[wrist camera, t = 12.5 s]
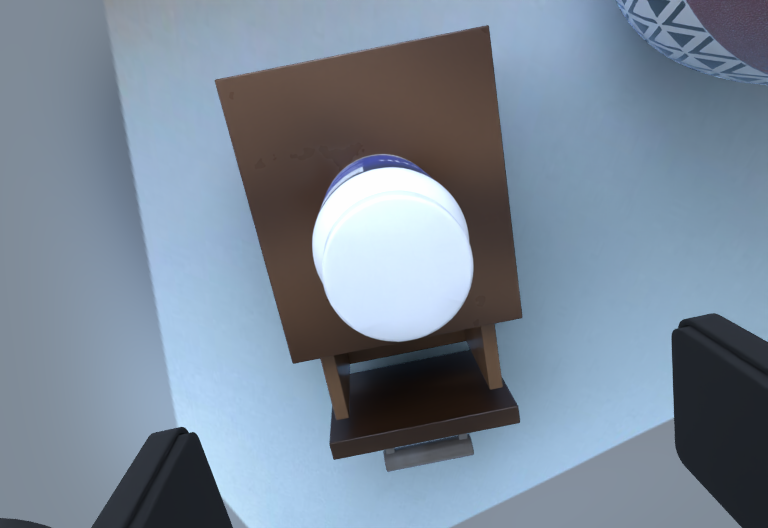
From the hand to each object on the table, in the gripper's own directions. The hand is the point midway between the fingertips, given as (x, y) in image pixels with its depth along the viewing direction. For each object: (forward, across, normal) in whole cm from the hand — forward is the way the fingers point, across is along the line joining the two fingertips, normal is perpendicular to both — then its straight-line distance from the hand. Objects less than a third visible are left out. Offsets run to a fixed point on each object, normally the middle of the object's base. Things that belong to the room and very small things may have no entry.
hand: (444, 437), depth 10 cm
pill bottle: (+16, 0, -1) cm, 16 cm away
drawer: (+25, 0, +8) cm, 26 cm away
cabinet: (+26, 0, -1) cm, 26 cm away
